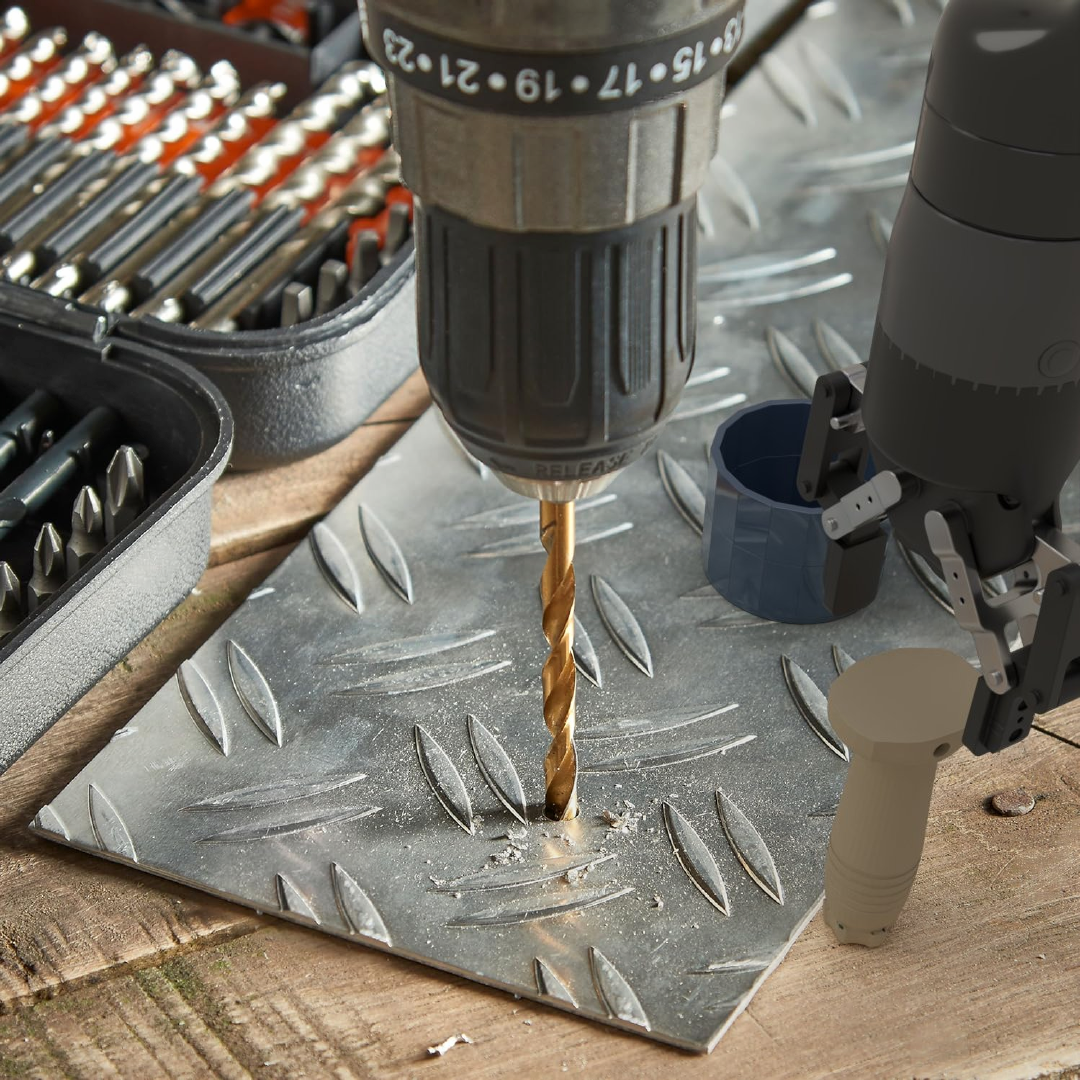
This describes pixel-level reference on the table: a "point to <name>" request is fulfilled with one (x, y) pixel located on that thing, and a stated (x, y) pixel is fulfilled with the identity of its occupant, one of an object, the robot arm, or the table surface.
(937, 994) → the table surface
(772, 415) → the pot
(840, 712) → the handle
